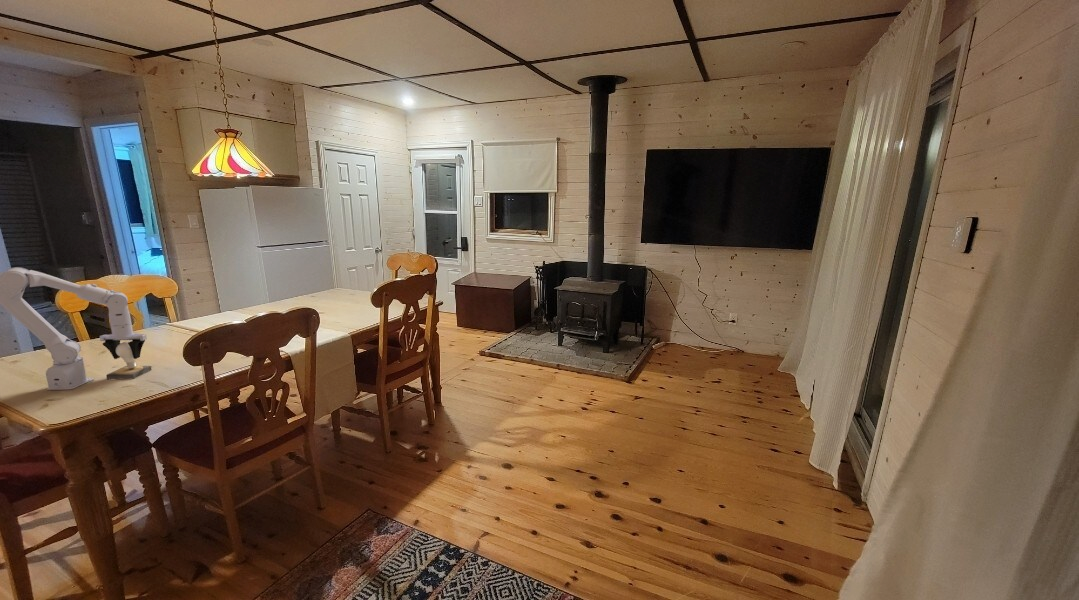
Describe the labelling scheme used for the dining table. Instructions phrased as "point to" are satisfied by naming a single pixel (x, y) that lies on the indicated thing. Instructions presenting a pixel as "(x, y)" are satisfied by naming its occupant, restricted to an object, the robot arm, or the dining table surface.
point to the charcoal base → (128, 372)
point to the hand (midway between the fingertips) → (127, 358)
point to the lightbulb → (126, 354)
